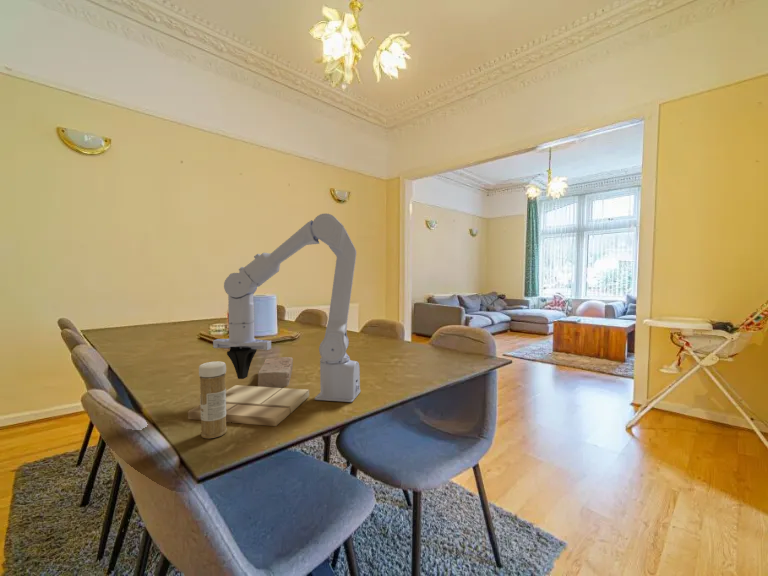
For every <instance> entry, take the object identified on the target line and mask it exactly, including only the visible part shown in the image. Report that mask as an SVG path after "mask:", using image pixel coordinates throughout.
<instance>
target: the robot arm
mask: <svg viewBox="0 0 768 576" xmlns="http://www.w3.org/2000/svg"><path fill="white" fill-rule="evenodd" d="M350 237H351V236H350V235H349V234H348V232H347V229H346V228H345V226H344V225H343V224H342V222H340V221H339V219H337V217H335V216H334V215H333V214H330V213H320V214H319V215H317V216H316V217H315V218H314V219H313V220H309V221H307V222H306V223H305V224H304V225H303V226H301V227H300V228H299V229H298V230H297V231H296V232H295V233H293V234H292V235H291V236H290V237H289V238H288V239H286V240H285V241H284V242H283V243H282V244H281V245H279V246H278V247H276V249H275V250H273V251H272V252H271V253H269V252H262V253H261V254H260V253H257V254H255V255H254V256H253V258H254V259H253V260H252V261H250V262H248V264H247V265H245V266H240V267H239V268H238V272H232V273H230V274H228V276H227V277H226V278H225V280H224V282H223V289H224V292H225V293H226V294H227V296H228V297H227V298H228V305H227V307H228V308H227V309H228V338H217V339H213V341H212V348H213V349H220V348H221V349H222V348H223V349H229V350H228V351H227V352H226V355H227V357H228V358H229V359H230V361H231V363H232V365H233V368H234V369H235V372H236V377H237V379H238V380H244V379H246V378H248V375H249V370H250V367H251V363H252V361H253V359H254V357H255V355H256V353H257V351H258V350H263V351H269V350H271V349H272V340H265V339H258V338H255V308H254V307H255V304H254V294H255V293H256V291H257V289H258V287H260V286H262V285H263V284H265V283H266V282H268V280H270V279H271V278H272V277H273V276H274V275H276V274H277V273H278V272H279V271H280V267H281V264H282V263H283V262H285V261H286V260H287V259H288V258H290V257H292V256H293V255H294V254H296V253H297V252H299V251H300V250H301V249H303V248H304V247H306V246H309V245H318V244H319V245H320V242H322V243H324V244H325V245H326V246H328V248H329V249H330V250H331V251H332V252H333V254H334V255H335V257H336V261H335V268H334V277H333V284H332V288H331V289H332V290H331V299H330V304H329V305H330V306H329V312H328V321H327V325H326V328H325V334H324V338H323V339H322V341H321V342H320V344H319V348H318V350H319V355H320V358H319V359H320V360H319V364H320V365H319V367H320V369H319V374H320V375H319V378H320V392H319V393H318V394H317V395H316V396H315V397H314V400H315V401H330V402H344V403H353V402H354V400H355V399H356V398H357V397H358V395H359V394H360V393H361V381H360V380H361V377H360V375H361V371H360V370H361V369H360V363H359V362H358V361H356V360H351V358H350V355H348V353H347V349H348V347H349V344H350V340H349V337H348V335H347V334H348V333H347V331H348V319H349V310H350V303H351V296H352V290H353V289H352V288H353V284H354V282H353V281H354V274H355V267H356V260H357V250H356V247H355V245H354V243H353V242H352V239H351V238H350ZM319 240H320V241H319Z"/></svg>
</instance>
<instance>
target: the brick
mask: <svg viewBox="0 0 768 576" xmlns="http://www.w3.org/2000/svg"><path fill="white" fill-rule="evenodd" d="M293 364H294V359H293V357H290V356H288V357H287V356H282V357H275V358H274V357H272V358H265V360H264V362H263V365H262V366H261V367H260V369H259V371H258V373H257V387H274V388H286V387H285V386H287V387H289V386H290V381H291V378H292V377H291V376H292V373H293V367H294V365H293ZM288 385H289V386H288Z"/></svg>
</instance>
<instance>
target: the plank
mask: <svg viewBox="0 0 768 576" xmlns="http://www.w3.org/2000/svg"><path fill="white" fill-rule="evenodd" d="M309 397H310V389H307V388H306V389H305V388H286V387H258V385H257V386H255V385H237V384H235V385H234V386H232V387H230V388H228V389H226V402H235V403H249V404H263V405H277V406H290V414H292V413H294V411H296V409H297V408H298V407H299V406H300V405H301V404H303V403H304V402H305V401H306V400H307V399H308V398H309Z"/></svg>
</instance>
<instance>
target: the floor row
mask: <svg viewBox="0 0 768 576" xmlns="http://www.w3.org/2000/svg"><path fill="white" fill-rule="evenodd" d="M290 414H291V413H290V406H277V405H263V404H249V403H235V402H226V423H231V422H232V424H233V423H234V424H246V425H255V426H258V425H259V426H268V427H270V426H271V427H277V426H278V425H279V424H280V423H282V422H283V421H284V420H285V419H286V418H287V417H288V416H289V415H290ZM187 419H188V420H197V421H198V420H199V421H201V409H200V404H199V405H197V406H195V407H193V408H191V409H190V410H188V411H187Z"/></svg>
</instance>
